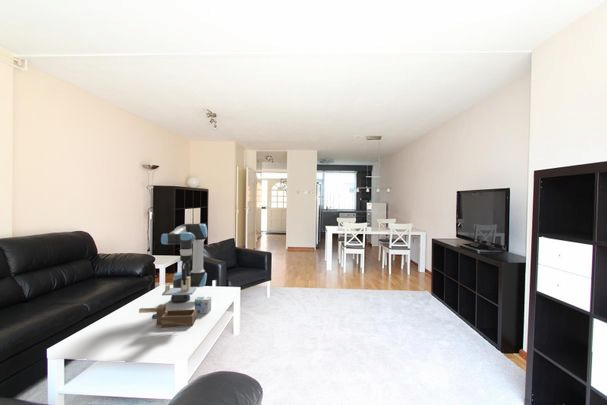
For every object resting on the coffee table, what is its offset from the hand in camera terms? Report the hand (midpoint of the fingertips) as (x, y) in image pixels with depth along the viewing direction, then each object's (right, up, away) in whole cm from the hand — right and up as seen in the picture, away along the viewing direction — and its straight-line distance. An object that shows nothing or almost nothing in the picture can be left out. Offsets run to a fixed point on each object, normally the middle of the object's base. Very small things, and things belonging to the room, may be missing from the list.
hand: (185, 288), depth 201 cm
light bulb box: (+5, -24, +20) cm, 32 cm away
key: (-23, -15, -3) cm, 28 cm away
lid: (-4, -3, -1) cm, 5 cm away
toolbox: (-6, -24, -1) cm, 25 cm away
